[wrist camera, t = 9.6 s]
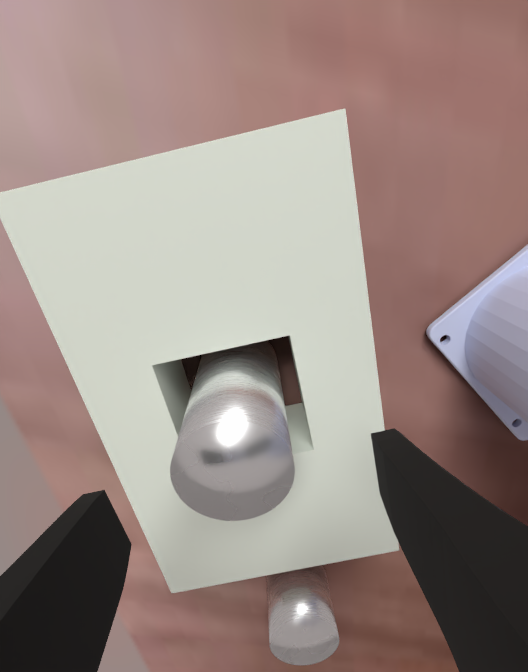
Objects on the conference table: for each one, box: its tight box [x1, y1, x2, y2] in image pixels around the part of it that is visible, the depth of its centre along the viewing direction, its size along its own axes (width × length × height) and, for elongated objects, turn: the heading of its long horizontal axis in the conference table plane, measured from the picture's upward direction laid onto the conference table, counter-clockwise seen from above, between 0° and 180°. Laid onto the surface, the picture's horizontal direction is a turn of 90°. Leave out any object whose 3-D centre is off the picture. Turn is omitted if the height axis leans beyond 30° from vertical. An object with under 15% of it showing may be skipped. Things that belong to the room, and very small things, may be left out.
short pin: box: [267, 565, 339, 665], centre depth 24 cm, size 4×4×4 cm
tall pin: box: [170, 340, 295, 521], centre depth 16 cm, size 4×4×8 cm
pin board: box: [0, 109, 399, 593], centre depth 18 cm, size 20×12×4 cm, turn 12°
